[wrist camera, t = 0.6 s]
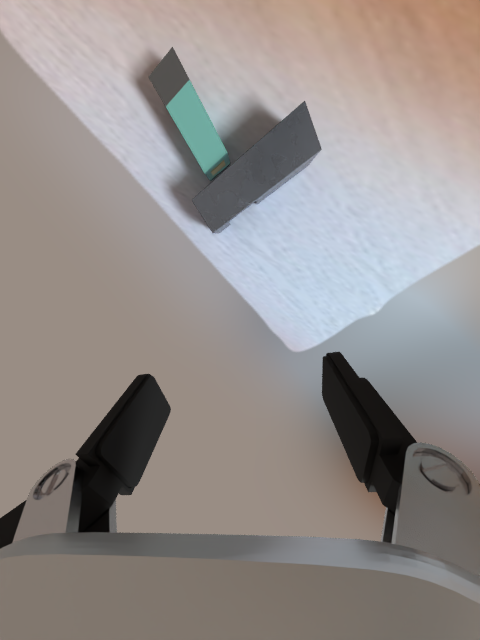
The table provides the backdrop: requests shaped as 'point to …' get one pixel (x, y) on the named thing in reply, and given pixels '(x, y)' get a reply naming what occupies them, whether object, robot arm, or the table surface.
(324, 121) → the table surface
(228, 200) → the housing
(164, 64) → the plug
